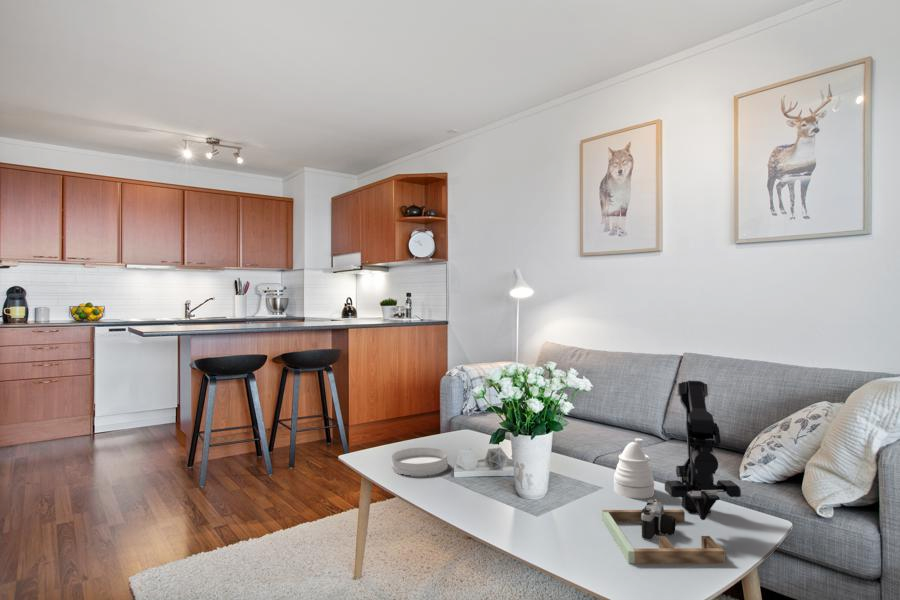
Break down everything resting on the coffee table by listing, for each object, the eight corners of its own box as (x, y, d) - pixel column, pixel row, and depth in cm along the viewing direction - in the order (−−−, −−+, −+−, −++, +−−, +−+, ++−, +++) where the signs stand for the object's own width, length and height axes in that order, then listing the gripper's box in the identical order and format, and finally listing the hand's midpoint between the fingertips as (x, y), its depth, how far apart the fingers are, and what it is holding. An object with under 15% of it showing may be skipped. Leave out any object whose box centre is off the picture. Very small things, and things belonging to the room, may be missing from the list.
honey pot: (659, 490, 184) (658, 437, 184) (646, 501, 174) (645, 445, 174) (622, 482, 192) (622, 431, 192) (607, 492, 182) (607, 439, 182)
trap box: (682, 519, 160) (682, 509, 160) (724, 563, 134) (724, 551, 134) (602, 520, 160) (602, 510, 160) (628, 563, 134) (628, 551, 134)
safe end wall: (607, 520, 160) (607, 510, 160) (634, 563, 134) (634, 551, 134) (602, 520, 160) (602, 510, 160) (628, 563, 134) (628, 551, 134)
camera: (669, 546, 143) (670, 511, 144) (639, 539, 147) (639, 505, 148) (677, 531, 154) (678, 499, 155) (649, 525, 158) (649, 494, 159)
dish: (382, 474, 206) (382, 461, 206) (404, 457, 227) (403, 445, 227) (437, 479, 200) (437, 465, 200) (454, 461, 221) (454, 449, 221)
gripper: (722, 454, 158) (722, 507, 158) (657, 455, 158) (658, 508, 158) (741, 466, 147) (742, 524, 147) (671, 466, 147) (672, 524, 147)
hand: (702, 519), depth 150 cm, fingers closed
